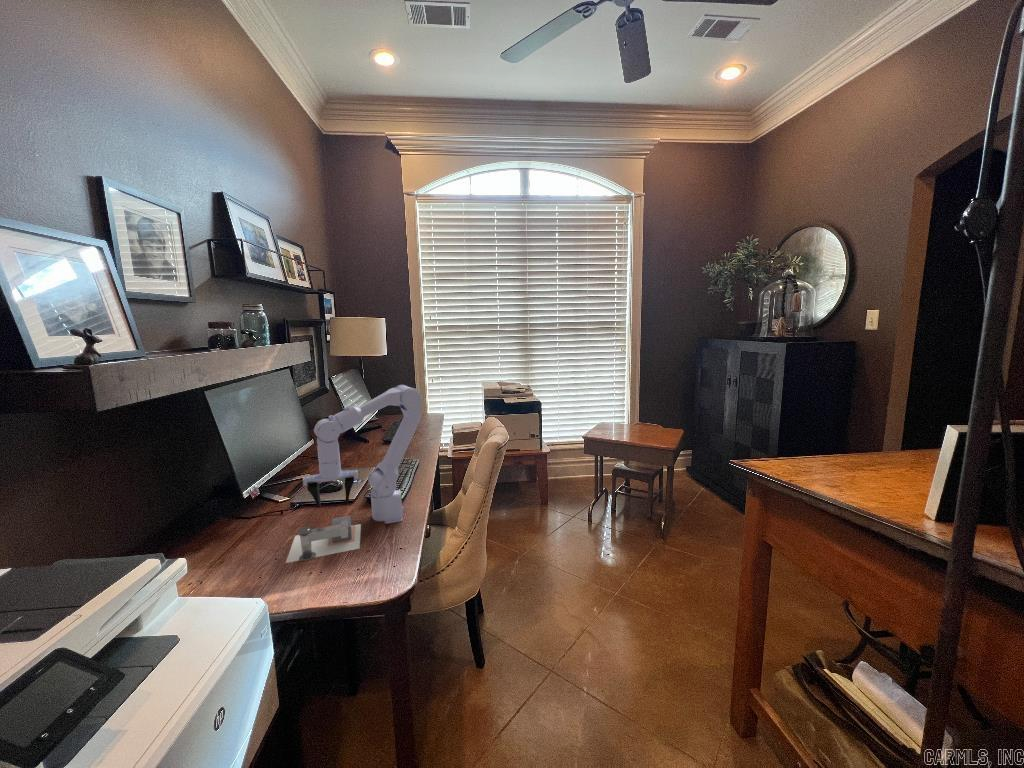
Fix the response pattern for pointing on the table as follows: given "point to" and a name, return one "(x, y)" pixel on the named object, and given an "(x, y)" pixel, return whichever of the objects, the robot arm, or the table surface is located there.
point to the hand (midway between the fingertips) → (333, 503)
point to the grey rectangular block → (338, 521)
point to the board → (325, 546)
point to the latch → (320, 535)
